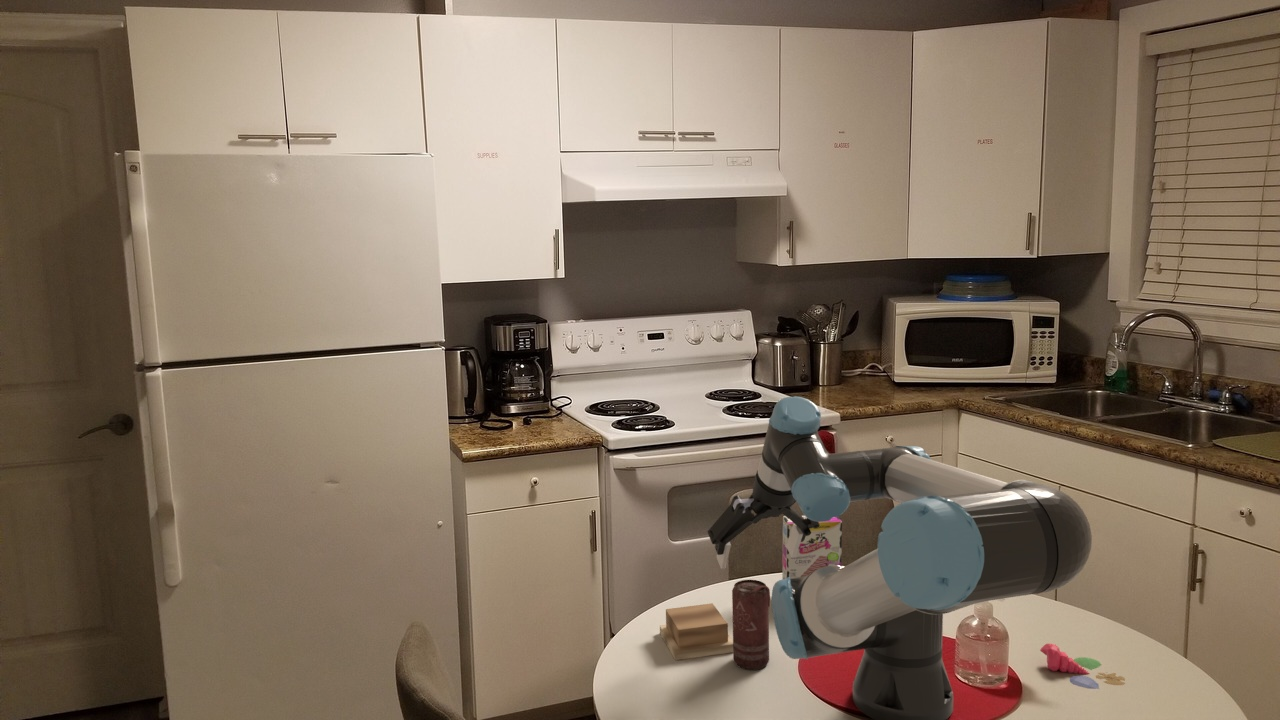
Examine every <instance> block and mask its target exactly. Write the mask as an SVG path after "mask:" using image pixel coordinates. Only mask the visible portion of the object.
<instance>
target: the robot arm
mask: <svg viewBox="0 0 1280 720" xmlns="http://www.w3.org/2000/svg"><path fill="white" fill-rule="evenodd" d="M821 418H822V414H821V410H820V409H819V407H818V405H816V403H814V402H813V401H811V400H810V399H808V398H805V397H802V396H795V395H794V396H786V397H784V398H781V399H780V400H778V401H777V402H776V404H775V405H774V408H773V410H772V414H771V416H770V417H769V419H768V426H767V431H766V434H765V438H764V442H763V446H762V452H761V455H760V458H759V463H758V466H757V470H756V473H755V476H754V481H753V485H752V493H751V495H749V497H748V498H741V496H740V495H737V494H736V495H734V496H733V497H732V499H731V500H732V501H731V502H730V504H729V505H728V507H726V510H724V512H723V513H721V515H720V516H719V518H717V520H716V521H715V522H714V523H713V524H712V526H711V527H710V528H709V529H708V530H707V535H708V537H709V540H710V542H711V545H714V549H715V551H716V560H717V562H718V564H719V567H720V569H721V570H725V569H726V567H727V563H728V560H729V554H730V551H731V547H732V543H731V542H732V540H733V539H735V538H736V537H737V536H738V535H740V534H741V533H742V532H743V531H745V530H746V529H747V528H749V527H750V526H751V525H752V524H754V525H755V524H758V523H759V522H760V521H761V520H765V519H768V518H777V517H780V516H781V515H783V516H786V517H787V518H788V519H790V520H791V521H792V522H793V526H792V529H791V532H790V535H789V539H788V542H787V545H786V547H787V549H788V551H789V553H790V555H791V557H792V558H794V557H796V554H797V551H798V548H799V545H800V542H803V541H804V540H805V537H806V536H809V535H810V534H811V531H810V528H812V527H813V528H814V529H817V528H818V527H819V526H820V525H819V522H825V521H829V520H830V519H831V518H833V517H838V518H839V517H840V516H842V515H843V514H844V513H845V512H846V511H847V510H848V508H849V507H850V503H851V502H852V503H853V502H859V501H862V502H863V501H867V500H877V499H878V500H879V499H889V500H892V501H895V502H897V503H899V504H897V505H895V506H894V507H893V508H891V509H890V511H889V512H888V513H887V514H886V515H885V517H884V519H883V520H882V523H881V530H882V531H881V532H879V533H878V538H877V548H876V549H874V550H872V551H870V552H868V553H867V554H865V555H863V556H861V557H860V558H858V559H856V560H854V561H853V562H851V563H849V564H847V565H845V566H844V565H841V566H840V565H830V566H825V567H822V568H820V569H818V570H816V571H814V572H813V573H811V574H809V575H807V576H803V577H797V578H790V577H787V579H783V580H782V579H779V580H777V581H776V582H775V583H774V584H773V587H772V591H771V608H772V617H773V622H774V626H775V631H776V634H777V639H778V641H779V644H780V646H781V648H782V650H783V652H784V653H785V655H787V657H788V658H790V659H792V660H800V659H805V660H808V659H809V658H815V657H821V656H827V655H834V654H842V653H847V652H848V653H849V652H854V651H860V650H863V655H862V657H861V661H860V663H859V664H858V667H857V671H856V674H855V676H854V679H853V682H852V700H853V703H854V705H855V707H856V708H857V709H858V710H859V711H860V712H861V713H862V714H864V715H865V716H867V717H869V718H870V719H873V720H948V719H949V717H951V715H952V714H953V712H954V692H953V689H952V686H951V682H950V679H949V677H948V673H947V670H946V667H945V664H944V661H943V634H944V631H943V630H944V629H943V628H944V627H943V625H944V615H945V614H948V613H951V612H955V611H958V610H960V609H963V608H967V607H969V606H972V605H975V604H976V605H977V604H980V603H985V602H988V601H995V600H1004V599H1009V598H1015V597H1017V598H1018V597H1022V596H1029V595H1036V594H1042V593H1049V592H1052V591H1055V590H1057V589H1060V588H1063V587H1064V586H1066V585H1068V584H1069V583H1070V582H1071V581H1073V580H1074V579H1075V578H1076V577H1077V576H1079V574H1080V573H1082V571H1083V569H1084V567H1085V566H1086V564H1087V561H1088V560H1089V558H1090V554H1091V550H1092V545H1093V544H1092V538H1093V535H1092V531H1091V525H1090V522H1089V520H1088V517H1087V514H1086V513H1085V512H1084V510H1083V509H1082V508H1081V506H1080V504H1078V502H1077V501H1076V500H1074V499H1073V498H1072V497H1071V496H1070V495H1069V494H1066V493H1065V492H1063V491H1061V490H1060V489H1057V488H1055V487H1052V486H1050V485H1046V484H1042V483H1039V482H1035V481H1032V480H1027V479H1016V480H1013V481H1009V482H1005V481H1003V480H999V479H995V478H994V477H993V478H992V477H989V476H985V475H982V474H979V473H976V472H972V471H969V470H965V469H962V468H959V467H956V466H953V465H949V464H946V463H943V462H940V461H936V460H933V459H931V457H930V455H929V454H928V453H926V450H925V449H924V448H922V447H920V446H918V445H911V446H910V445H909V446H907V445H896V446H893V447H886V448H875V449H874V448H873V449H868V450H867V449H866V450H856V451H847V452H846V451H845V452H844V451H843V452H835V453H829V451H828V450H827V448H826V446H825V444H824V443H823V441H822V439H821V436H820V435H819V431H818V430H819V429H820V427H821ZM796 503H797V505H798V507H799V508H800V510H801V512H802V514H803V515H805V516H806V517H807V518H806V519H804V518H803V517H802V516H801V514H800V513H799V511H797V510H796V509H795V508H794V507H793V505H794V504H796Z"/></svg>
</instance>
